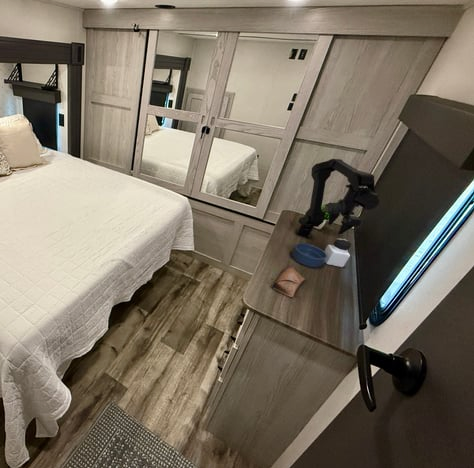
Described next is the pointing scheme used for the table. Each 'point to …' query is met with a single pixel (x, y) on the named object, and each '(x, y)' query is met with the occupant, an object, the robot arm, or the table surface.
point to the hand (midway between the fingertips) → (334, 229)
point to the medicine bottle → (338, 252)
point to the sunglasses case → (288, 282)
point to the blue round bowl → (309, 255)
